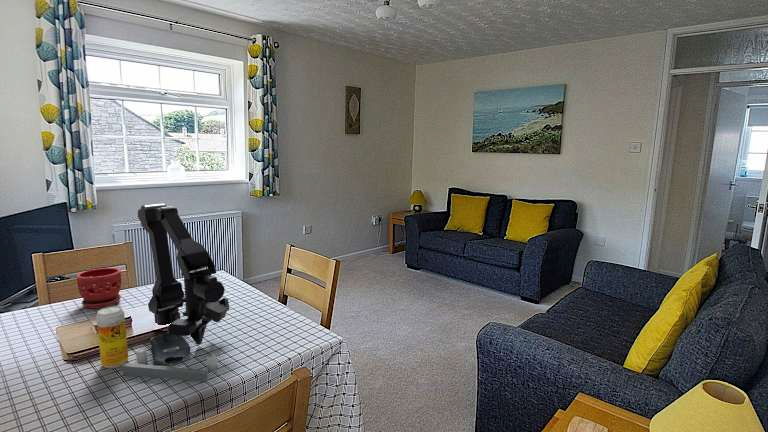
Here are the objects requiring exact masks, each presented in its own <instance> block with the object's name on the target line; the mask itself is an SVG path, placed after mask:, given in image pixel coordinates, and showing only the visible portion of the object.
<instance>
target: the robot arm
mask: <svg viewBox="0 0 768 432" xmlns="http://www.w3.org/2000/svg"><path fill="white" fill-rule="evenodd" d="M137 218H138V220H139V221H140V226H141V227H142V228H143V229H144V230H145V231H146V232H147V234H148V235H149V243H150V247H151V248H150V249H151V254H152V259H153V260H152V261H153V265H154V271H155V278H156V280H155V282H154V284H153V287H152V289H151V290H152V291H151V292H152V296H151V297H150V300H149V302H148V303H147V306H148V311H149V312H151V313H152V314H154V315H153V316H154V324H155V323H157V324H158V325H166V324H170V323H171V324H170V325H169V326H168V327H167V329H168V334H169V335H180V336H182V337H183V336H184V337H187V336H190V337H191V338H192V340H193V341H194V343H195V344H196V345H197V346H200V345H201V344H202V343H203V339H204V336H205V332H206V329H207V325H208V324H210V322H211V321H212V322H215V323H219V322H221V320H223V319H225V317H226V315H227V312H228V311H229V310H230V302H229V299H228V298H226V297H223V296H224V294H225V291H226V289H225V286H224V284H223V283H222V282H221V281H218V277H217V276H216V275H214V274H217V270H216V264H215V263H214V261H213V259H212V257H211V255H210V253H209V252H208V250H207V249H206V248H205V247H204V245H203V244H202V243H200V242H198V241H196V240H194V239H193V237H192V235H191V233H190V231H188V228H187V227H186V225H185V224H184V222H183V220H182V219H181V217H180V215H179V211H178V208H177V207H176V206H172V205H170V206H167V205H166V204H165V203H155V204H154V203H152V204H144V205H141V207H140V208H139V209H138V210H137ZM168 236H169V238H170V240H171V242H172V243H173V245H174V247H175V248H176V251H177V252H176V258H175V259H176V262H177V266H178V268H179V270H180V271H181V273H180V275H181V276H182V277H183V283H184V284H183V283H182V282H180V281H178V280H177V279H176V278H175V277H174V271H173V270H174V269H173V263H172V258H171V252H170V247H169V240H168V239H169V238H168ZM203 268H206V269H204V270H199V269H203ZM197 270H199V271H197ZM183 287H184V290H183ZM184 303H185V311H183V312H182V316H183V317H187V318H186V319H185V318H181V313H180V312H181V311H180V310H179V308H183V307H184ZM179 311H180V312H179Z"/></svg>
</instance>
